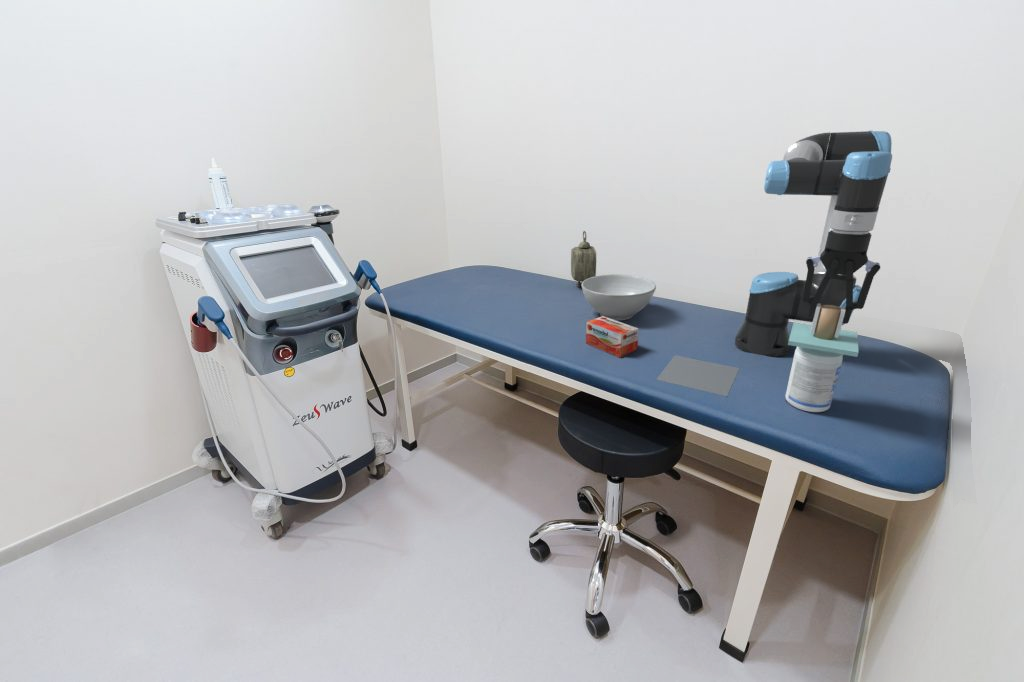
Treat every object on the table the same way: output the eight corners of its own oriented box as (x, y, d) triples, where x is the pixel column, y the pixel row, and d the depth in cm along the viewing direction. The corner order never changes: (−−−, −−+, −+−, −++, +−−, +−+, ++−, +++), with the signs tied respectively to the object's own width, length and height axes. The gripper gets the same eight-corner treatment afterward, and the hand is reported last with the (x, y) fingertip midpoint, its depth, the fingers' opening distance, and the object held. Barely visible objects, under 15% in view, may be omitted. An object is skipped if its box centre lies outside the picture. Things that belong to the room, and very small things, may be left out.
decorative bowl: (646, 303, 186) (649, 274, 181) (659, 328, 161) (662, 295, 156) (579, 303, 188) (580, 274, 184) (582, 327, 164) (582, 295, 159)
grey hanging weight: (595, 291, 203) (597, 233, 193) (574, 292, 203) (575, 234, 193) (589, 282, 216) (591, 227, 206) (570, 282, 216) (571, 228, 206)
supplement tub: (837, 415, 108) (853, 358, 103) (793, 412, 110) (806, 357, 104) (818, 394, 117) (832, 341, 111) (778, 392, 119) (790, 340, 113)
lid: (792, 326, 115) (799, 295, 112) (856, 336, 108) (865, 303, 105) (787, 344, 105) (795, 311, 102) (857, 356, 99) (867, 321, 95)
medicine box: (637, 351, 145) (639, 327, 142) (620, 358, 140) (622, 334, 137) (601, 337, 156) (602, 315, 153) (584, 344, 151) (585, 321, 148)
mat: (674, 356, 140) (674, 355, 140) (739, 369, 131) (739, 368, 131) (656, 381, 126) (656, 379, 126) (726, 398, 117) (727, 396, 117)
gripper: (802, 231, 98) (780, 332, 108) (903, 237, 90) (870, 346, 99) (804, 225, 104) (783, 322, 113) (900, 230, 95) (869, 334, 105)
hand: (824, 333), depth 106 cm, fingers closed on lid, 4 cm apart
